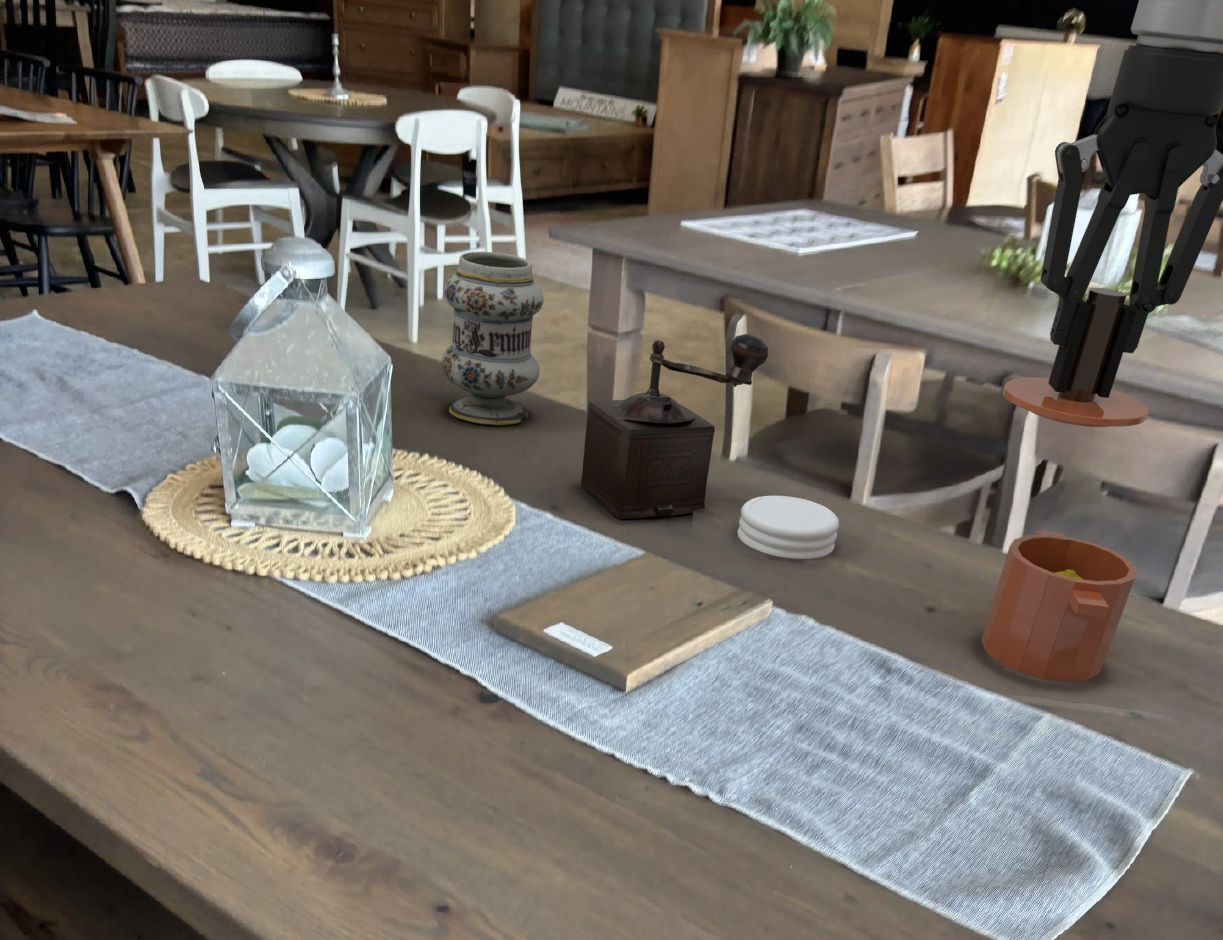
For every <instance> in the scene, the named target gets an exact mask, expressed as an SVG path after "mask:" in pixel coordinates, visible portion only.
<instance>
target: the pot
mask: <svg viewBox="0 0 1223 940" xmlns="http://www.w3.org/2000/svg"><path fill="white" fill-rule="evenodd" d="M1067 569H1071V570H1074V571H1075V573H1076V575H1078V576H1080V577H1081V578H1082V579H1075V578H1071V577H1067V576H1063V575H1059V574H1056V573H1055V572H1062V571H1066V570H1067ZM1137 574H1138V569H1137V568H1136V566H1135V565H1134V564H1133V562H1132V561H1131V560H1130V559H1128V558H1126V557H1125V556H1123V554H1120V553H1119V552H1117V551H1116V550H1113V549H1110V548H1108V547H1106V546H1103V545H1100V544H1098V543H1095V542H1092V541H1087V540H1084V539H1079V538H1075V537H1070V536H1065V535H1064V533H1061V532H1053V531H1043V530H1036V531H1035V534H1027V535H1023V536H1020V537H1017V538H1014V539H1013V541H1012V542H1011V544H1010V545H1009V547H1008V550H1007V554H1006V557H1005V561H1004V564H1003V567H1002V570H1001V574H1000V577H999V580H998V583H997V587H996V591H995V594H994V597H993V600H992V604H991V607H990V610H989V613H988V616H987V620H986V624H985V627H984V630H983V634H982V636H981V637H982V638H981V640H980V641H981V644H982V646H983V649H984V651H985V652H986V654H988V655H989V656H990V657H991V658H993V659H994V660H995V661H996V662H998V663H999V664H1001V665H1004V666H1005V667H1007V668H1010V669H1012V670H1014V671H1016V672H1019V673H1021V674H1024V675H1028V676H1031V677H1034V678H1035V677H1036V678H1038V679H1041V680H1046V681H1047V680H1049V681H1056V682H1065V683H1070V682H1071V683H1072V682H1083V681H1088V680H1091V679H1093V678H1095V677H1097V676H1099V675H1100V674H1101V672H1102V669H1103V666H1104V664H1105V660H1106V658H1107V655H1108V652H1109V650H1110V647H1111V644H1112V641H1113V640H1114V637H1115V634H1116V631H1117V628H1118V626H1119V623H1120V620H1121V618H1122V615H1123V612H1124V610H1125V607H1126V604H1127V601H1128V598H1129V596H1130V593H1131V590H1132V588H1133V586H1134V583H1135V580H1136V577H1137Z"/></svg>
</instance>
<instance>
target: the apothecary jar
mask: <svg viewBox="0 0 1223 940" xmlns="http://www.w3.org/2000/svg"><path fill="white" fill-rule="evenodd" d="M443 294H444V295H443V296H444V299H445V300H446V303H448V305H449V306H450V307H452V309H453V322H452V323H453V327H452V340H451V345H449V347H447V348H446V350H444V352H443V354H442V356H441V359H440V366H441V367H440V368H441V370H442V373H443V374H444V376H445V378H447V380H448V381H449V382H450V383H451V384H453V385H454V386H455V387H457V388H459V389H461V390H462V391H464V392H467V393H469V394H471V395H469V396H466V397H465V396H464V397H462V398H461V399H457V400H455V401H453V402H452V403H451V404H450V406H449V407H448V411H449V413H450V415H451V416H453V417H454V418H456V419H458V420H461V421H464V422H466V423H471V424H478V425H484V426H512V425H517V424H520V423H522V420H527V419H528V417H529V413H528V411H527V410H526V409H525V408H524V407H523V406H521V405H519V404H517V403H516V402H515V401H513V400H511V399H509V398H506V397H508V396H509V397H510V396H514V395H517V394H521V393H524V392H526V391H528V390H530V388H532V387H533V386H534V385H535V384H536V383H537V381H538V379H539V377H540V366H539V363H538V361H537V359H536V358H535V356H534V355H533V354H532V353H531V352H532V351H531V350H532V328H533V320H534V316H535V315H536V314H538V312H540V311H541V309H542V308H543V305H544V301H545V297H544V293H543V291H542V288H541V287H540V286H539V284H538V283H537V282H536V281H535V280H534V276H533V265H532V262H531V261H530V260H528V259H526V258H524V257H521V256H517V255H513V254H508V253H502V252H495V251H494V252H492V251H470V252H465V253H462V254H461V255H459V259H458V266H457V268H456V272H455V273H454V274H453V275H451V276H450V277H449V278H448V279H447V280H446V282H445V284H444V288H443Z"/></svg>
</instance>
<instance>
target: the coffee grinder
mask: <svg viewBox="0 0 1223 940" xmlns="http://www.w3.org/2000/svg"><path fill="white" fill-rule="evenodd" d="M651 347H652V348H651V349H652V352H651V354H650V356H649V361H650V362H651V372H650V381H649V388H648V389H647V391H645V392H640V393H635V394H633V395H631V396H628V397H626V398H625V399H608V400H589V402H588V405H587V416H586V424H585V425H586V427H585V436H584V449H583V458H582V459H583V460H582V469H581V470H582V472H581V479H580V485H581V487H582V488H583V489H584V491H585V492H586V493H587V494H588V495H589V496H591V497H592V498H593V499H594V500H595V501H596V502H597V503H599V504H600V505H601V506H602V507H603V508H604V509H605V510H607V511H608V512H609V513H610V514H611V515H613V516H614V517H615V518H617V519H619V520H636V519H637V520H638V519H651V518H655V519H657V518H667V517H673V516H679V515H689V514H693V513H694V511H696V510H704V509H706V505H705V501H706V492H707V484H708V478H709V471H710V464H711V457H712V449H713V443H714V438H715V437H714V436H715V432H716V431H715V430H716V429H715V425H714V424H712V423H711V422H709V421H708V420H706V419H705V418H703V417H702V416H700V415H698V414H697V413H695V412H693V410H691V409H689V408H687V407H686V406H684V405H682V404H680V403H678V401H676V400H675V399H674V398H672V397H671V396H669V395H667V394H664V393H661V392H660V376H661V369H662V368H661V367H662V366H663V367H664V368H666V369H667V370H669V371H672V372H678V373H681V374H682V373H683V374H687V375H688V374H689V375H692V376H696V377H697V376H698V377H701V378H704V379H708V380H711V381H714V382H717V383H719V384H732V386H733V387H734V388H736V387H737V386H742V385H747V386H751V385H752V383H753V380H752V378H753V376H752V375H753V373H754V371H756V370H757V368H759V367H760V366H761V365H763V364H765V363H766V361H767V360H768V357H769V348H768V347H769V346H767V345H766V343H765V342H764V341H763V339H761V338H760V337H758V336H757V335H753V334H750V333H743V334H739V335H736V336H735V337H734V338H733V339H732V341H731V343H730V352H731V356H732V364H731V367H730V368H729V370H728V371H726V373H725V374H722V373H719V372H715V371H712V370H709V369H707V368H703V367H700V366H696V365H691V364H686V363H681V362H673V361H670V360H667V359H665V356H664V354H663V353H664V350H665V347H666V346H665V343H664V341H662V340H660V339H655V340H654V342H653V343H652V345H651Z"/></svg>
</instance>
